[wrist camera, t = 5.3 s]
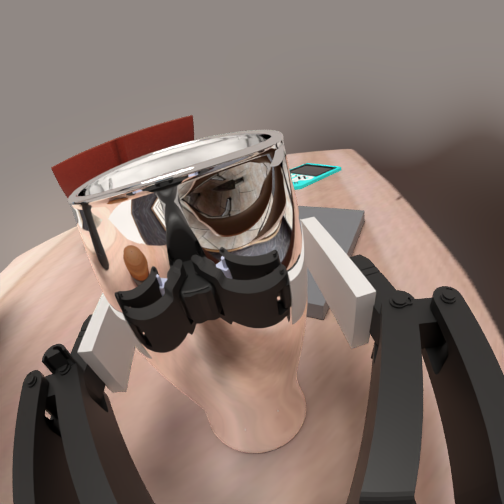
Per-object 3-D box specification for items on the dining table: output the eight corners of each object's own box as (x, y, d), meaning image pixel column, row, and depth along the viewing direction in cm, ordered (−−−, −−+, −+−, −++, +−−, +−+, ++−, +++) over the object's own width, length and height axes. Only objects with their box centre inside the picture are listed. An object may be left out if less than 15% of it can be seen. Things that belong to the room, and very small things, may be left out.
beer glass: (183, 412, 15) (55, 194, 8) (257, 352, 19) (201, 135, 12) (256, 482, 11) (73, 227, 3) (336, 401, 14) (339, 126, 7)
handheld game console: (258, 187, 54) (256, 181, 54) (306, 167, 62) (306, 162, 62) (295, 194, 47) (294, 187, 47) (342, 171, 55) (342, 165, 55)
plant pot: (155, 257, 35) (114, 136, 27) (82, 253, 42) (48, 167, 34) (215, 201, 50) (195, 113, 42) (142, 208, 57) (121, 137, 49)
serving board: (145, 273, 32) (140, 261, 31) (226, 211, 45) (224, 201, 44) (323, 319, 21) (323, 303, 20) (364, 221, 33) (364, 208, 32)
